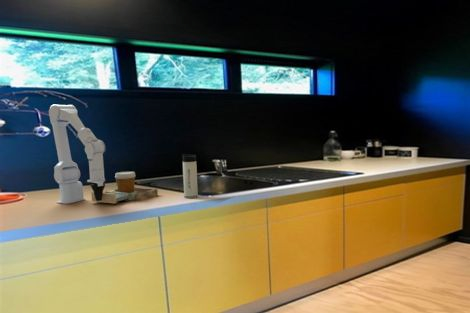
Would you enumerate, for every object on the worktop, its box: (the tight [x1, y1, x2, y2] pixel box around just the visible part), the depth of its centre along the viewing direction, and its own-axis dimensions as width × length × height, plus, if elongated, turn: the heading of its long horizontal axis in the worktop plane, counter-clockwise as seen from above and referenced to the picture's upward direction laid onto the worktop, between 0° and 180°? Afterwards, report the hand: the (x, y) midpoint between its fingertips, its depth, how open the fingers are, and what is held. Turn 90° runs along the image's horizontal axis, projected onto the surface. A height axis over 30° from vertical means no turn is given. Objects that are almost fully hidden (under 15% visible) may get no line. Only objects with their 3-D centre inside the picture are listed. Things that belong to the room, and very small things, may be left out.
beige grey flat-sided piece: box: [91, 189, 137, 205], centre depth 160 cm, size 13×14×5 cm
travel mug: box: [182, 153, 199, 199], centre depth 163 cm, size 6×7×20 cm
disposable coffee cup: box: [114, 171, 137, 193], centre depth 166 cm, size 10×10×12 cm
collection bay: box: [104, 186, 159, 202], centre depth 169 cm, size 14×20×3 cm
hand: (98, 200), depth 152 cm, fingers closed
